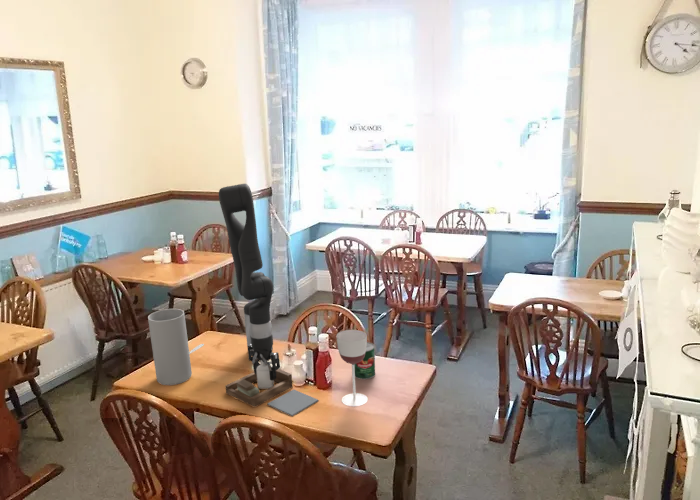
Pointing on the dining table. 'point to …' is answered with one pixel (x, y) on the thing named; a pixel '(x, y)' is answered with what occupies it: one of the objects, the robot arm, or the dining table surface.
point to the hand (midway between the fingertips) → (265, 376)
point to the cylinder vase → (170, 346)
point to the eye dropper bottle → (264, 376)
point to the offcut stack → (247, 388)
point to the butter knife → (196, 348)
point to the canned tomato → (366, 364)
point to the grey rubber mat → (293, 402)
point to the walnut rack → (282, 385)
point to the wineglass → (352, 359)
